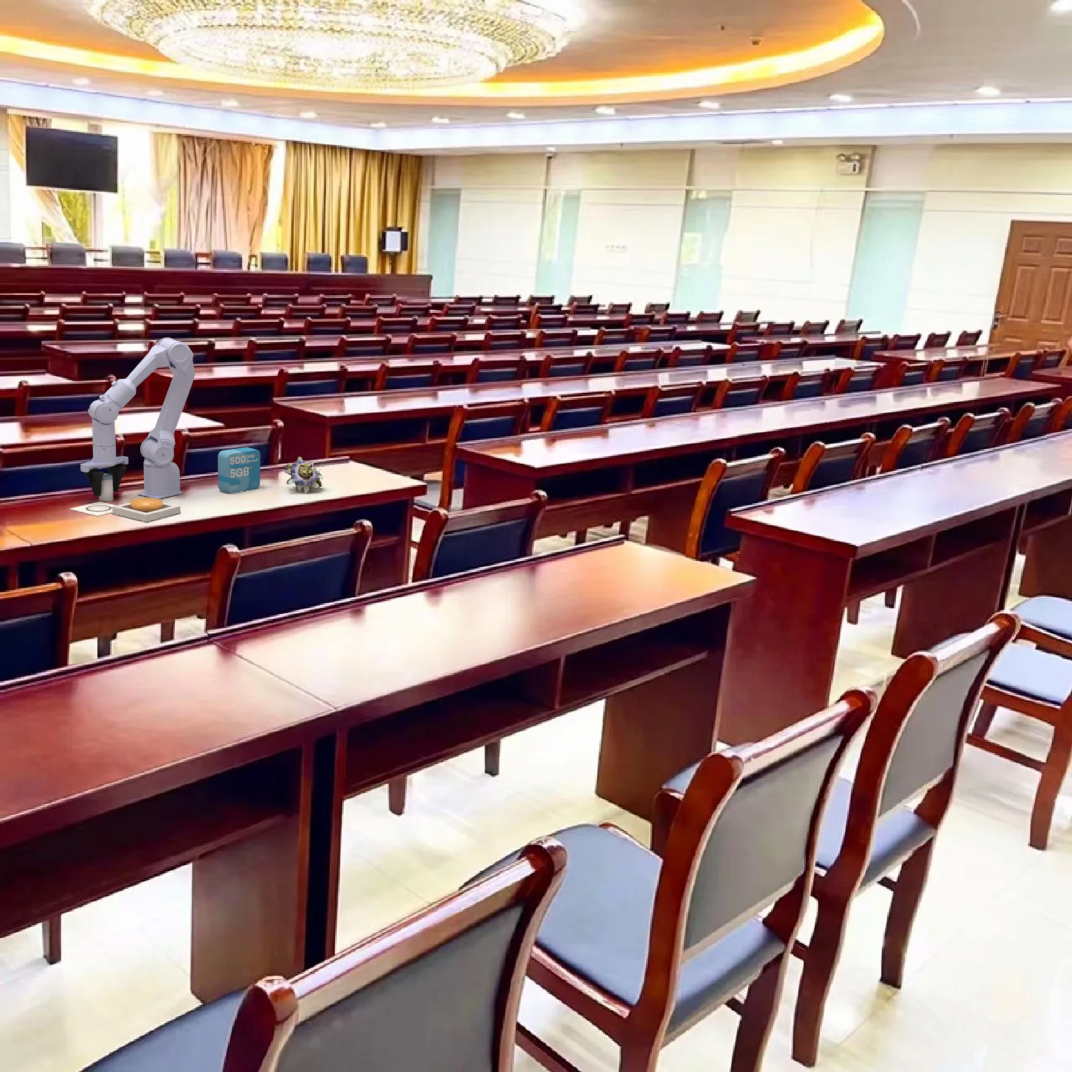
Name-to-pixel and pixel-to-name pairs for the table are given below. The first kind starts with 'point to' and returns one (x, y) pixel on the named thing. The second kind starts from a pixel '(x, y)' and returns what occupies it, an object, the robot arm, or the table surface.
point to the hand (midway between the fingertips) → (105, 493)
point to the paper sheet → (95, 508)
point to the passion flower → (303, 475)
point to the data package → (238, 470)
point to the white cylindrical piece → (106, 488)
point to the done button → (146, 504)
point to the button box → (145, 512)
